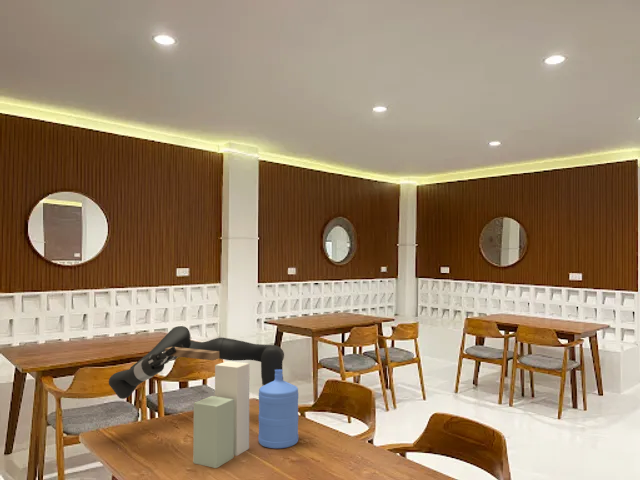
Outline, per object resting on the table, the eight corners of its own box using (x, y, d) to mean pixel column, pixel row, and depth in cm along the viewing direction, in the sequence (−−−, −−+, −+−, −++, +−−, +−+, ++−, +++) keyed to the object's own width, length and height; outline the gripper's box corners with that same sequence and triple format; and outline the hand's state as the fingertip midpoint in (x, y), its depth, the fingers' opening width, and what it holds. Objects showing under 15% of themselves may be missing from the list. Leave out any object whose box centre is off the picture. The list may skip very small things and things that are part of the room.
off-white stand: (214, 451, 191) (215, 365, 191) (227, 444, 198) (227, 361, 199) (236, 455, 186) (237, 367, 187) (249, 448, 193) (249, 363, 194)
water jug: (292, 450, 191) (292, 375, 192) (252, 447, 194) (253, 373, 195) (302, 436, 206) (302, 366, 207) (265, 433, 210) (265, 364, 210)
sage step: (193, 463, 180) (193, 402, 180) (211, 453, 189) (211, 395, 189) (216, 468, 175) (216, 406, 176) (233, 457, 184) (233, 399, 185)
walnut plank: (164, 355, 191) (165, 348, 191) (172, 353, 194) (172, 346, 194) (212, 360, 181) (212, 353, 181) (219, 358, 185) (219, 351, 185)
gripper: (131, 362, 191) (161, 341, 185) (158, 355, 204) (187, 336, 198) (138, 380, 189) (169, 360, 183) (165, 372, 202) (195, 353, 196)
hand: (178, 348), depth 190 cm, fingers closed on walnut plank, 4 cm apart
